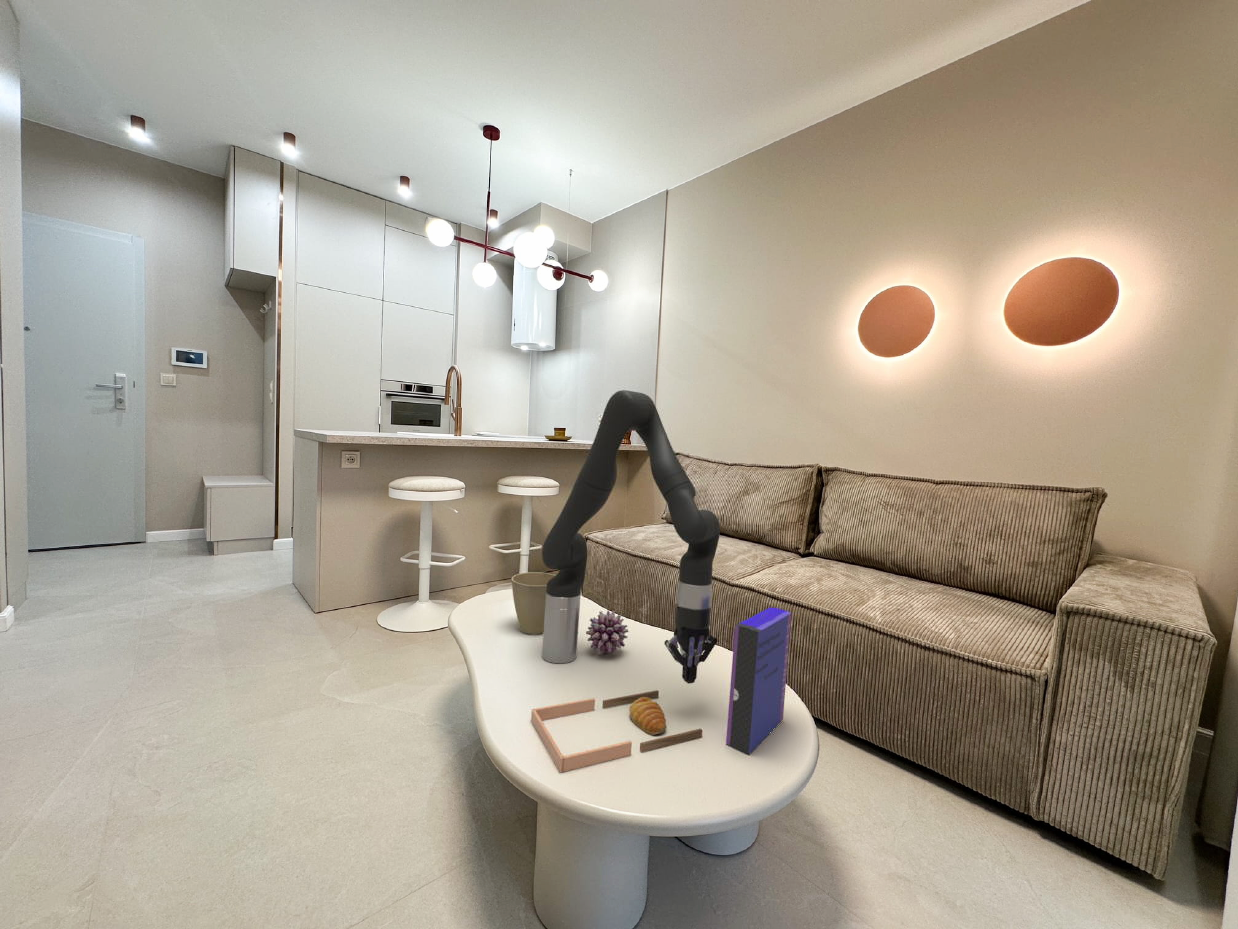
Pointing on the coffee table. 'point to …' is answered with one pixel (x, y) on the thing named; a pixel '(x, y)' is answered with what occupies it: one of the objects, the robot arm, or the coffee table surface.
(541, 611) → the plant pot
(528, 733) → the coffee table surface
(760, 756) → the coffee table surface
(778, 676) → the cereal box
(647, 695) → the walnut chute
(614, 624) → the purple spiky ball
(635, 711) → the pastry
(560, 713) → the terracotta pen
